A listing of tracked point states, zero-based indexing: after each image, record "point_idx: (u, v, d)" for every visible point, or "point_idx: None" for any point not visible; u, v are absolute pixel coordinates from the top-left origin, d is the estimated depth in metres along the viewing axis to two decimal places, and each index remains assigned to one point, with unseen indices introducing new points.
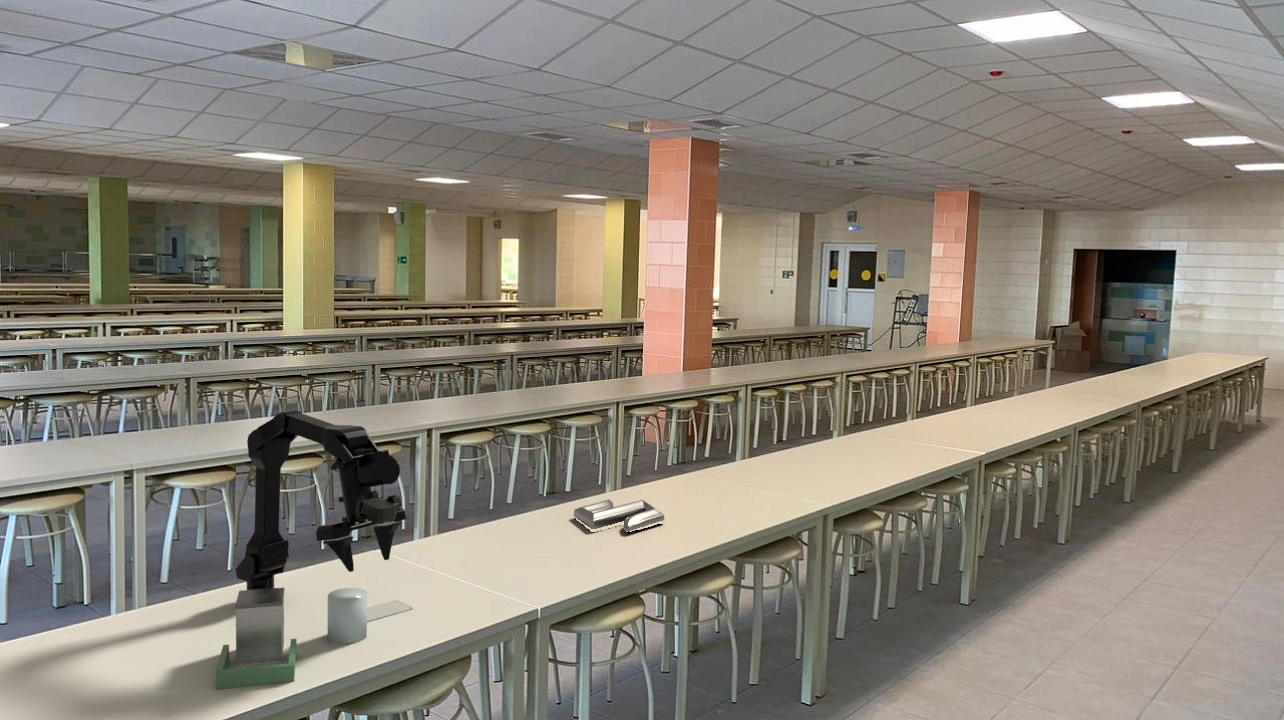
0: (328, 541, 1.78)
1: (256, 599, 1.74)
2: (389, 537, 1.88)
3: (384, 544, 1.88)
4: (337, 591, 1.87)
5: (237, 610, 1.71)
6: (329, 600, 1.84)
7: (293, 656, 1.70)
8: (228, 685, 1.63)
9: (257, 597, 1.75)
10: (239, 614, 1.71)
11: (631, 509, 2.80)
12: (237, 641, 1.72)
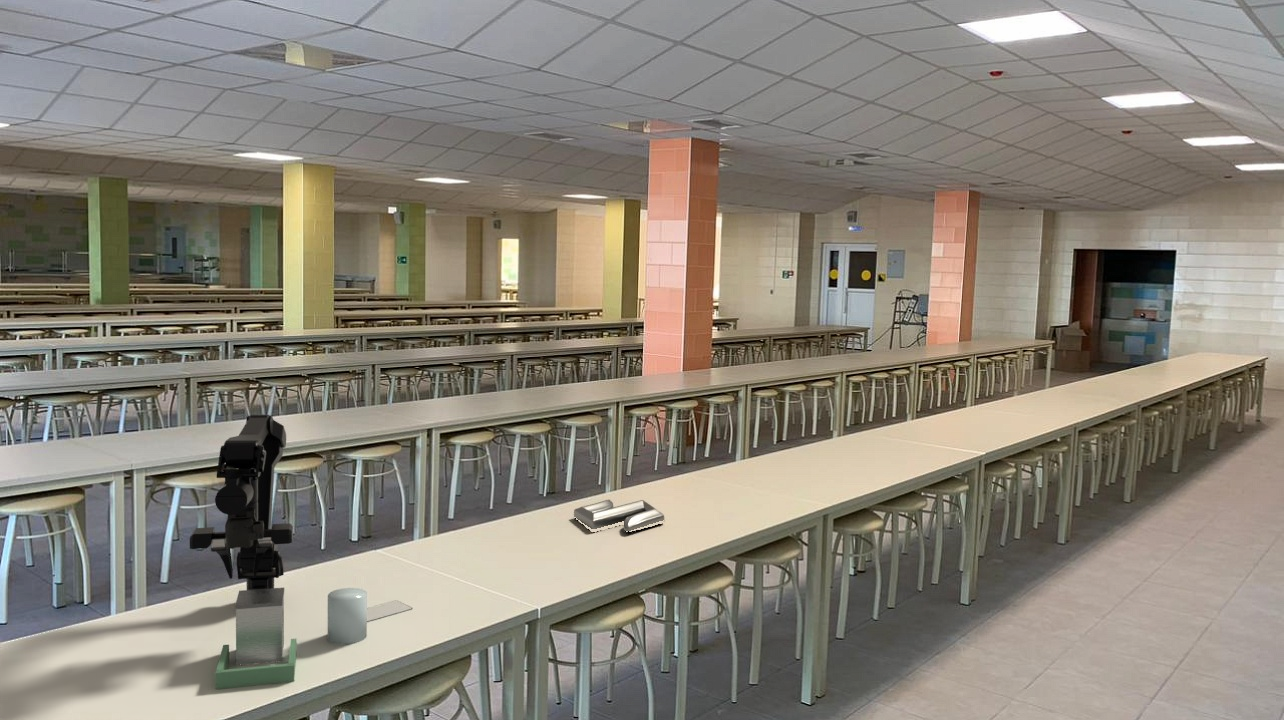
0: None
1: (256, 599, 1.74)
2: (257, 557, 1.84)
3: None
4: (337, 591, 1.87)
5: (237, 610, 1.71)
6: (329, 600, 1.84)
7: (293, 656, 1.70)
8: (228, 685, 1.63)
9: (257, 597, 1.75)
10: (239, 614, 1.71)
11: (631, 509, 2.80)
12: (237, 641, 1.72)
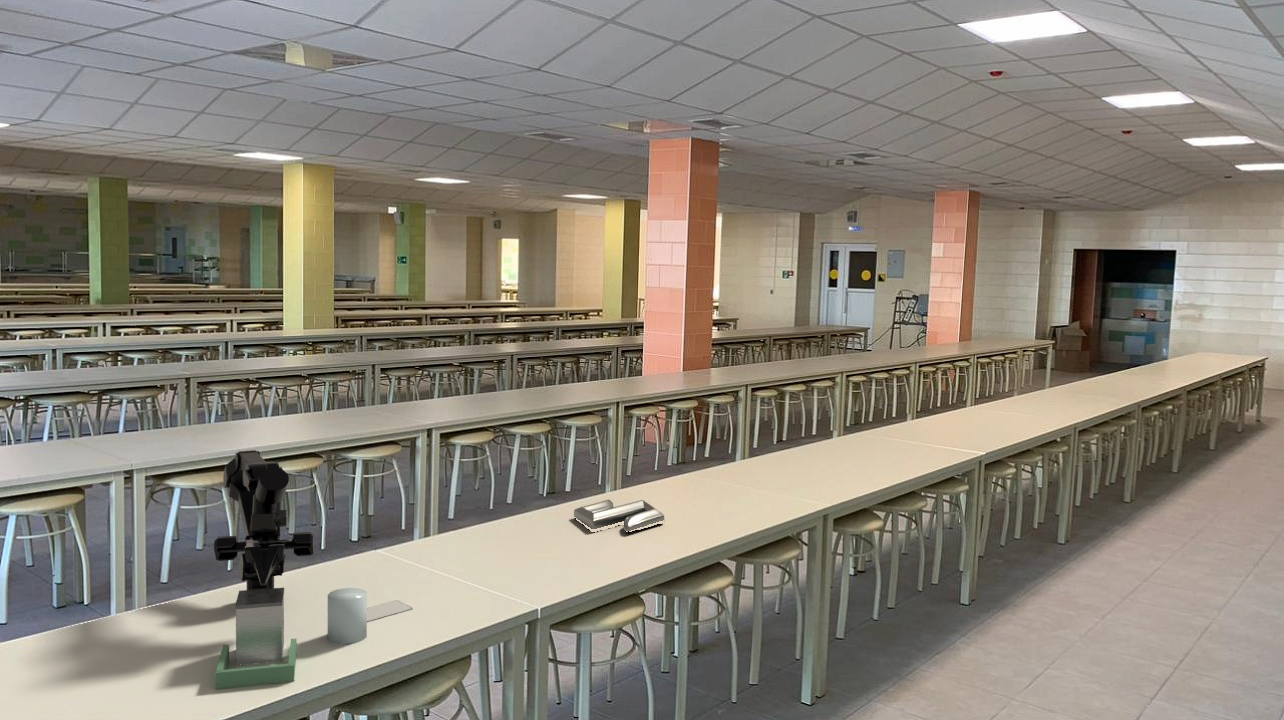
0: None
1: (256, 599, 1.74)
2: (267, 561, 1.85)
3: None
4: (337, 591, 1.87)
5: (237, 610, 1.71)
6: (329, 600, 1.84)
7: (293, 656, 1.70)
8: (228, 685, 1.63)
9: (257, 597, 1.75)
10: (239, 614, 1.71)
11: (631, 509, 2.80)
12: (237, 641, 1.72)
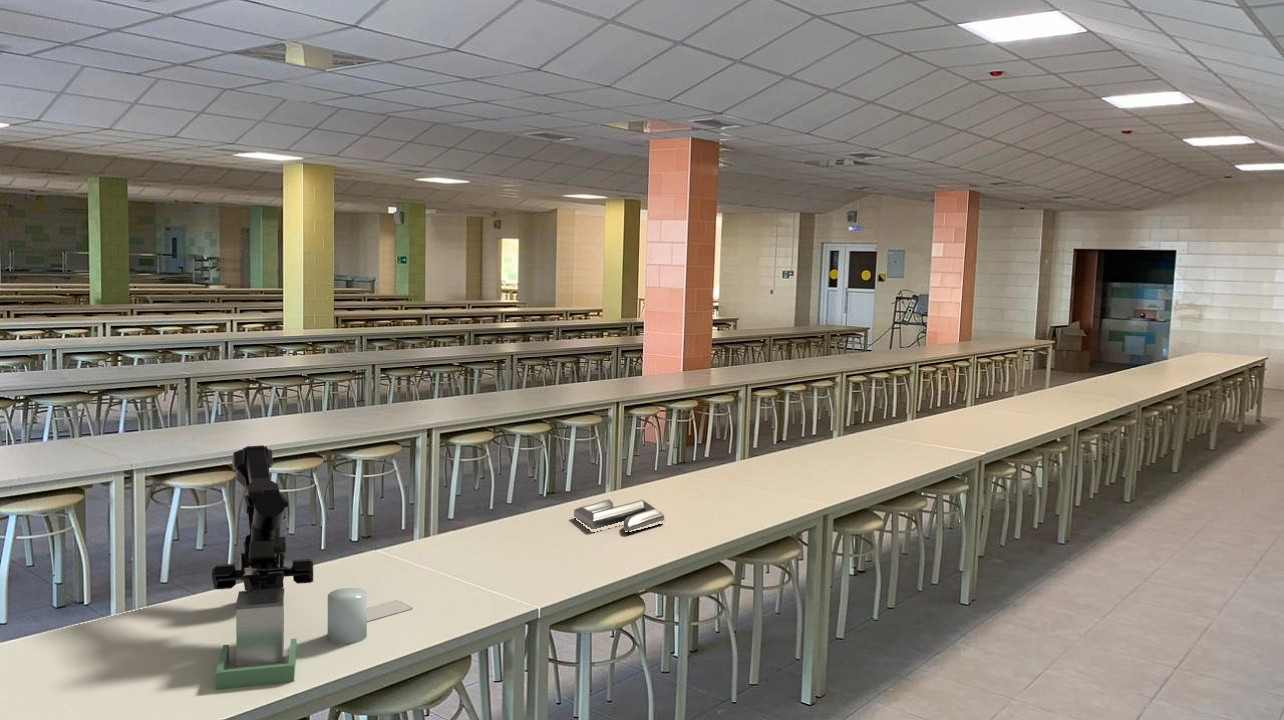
0: None
1: (256, 600, 1.74)
2: None
3: None
4: (337, 591, 1.87)
5: (237, 611, 1.71)
6: (329, 600, 1.84)
7: (293, 656, 1.70)
8: (228, 685, 1.63)
9: (257, 598, 1.75)
10: (239, 614, 1.71)
11: (631, 509, 2.80)
12: (237, 642, 1.71)
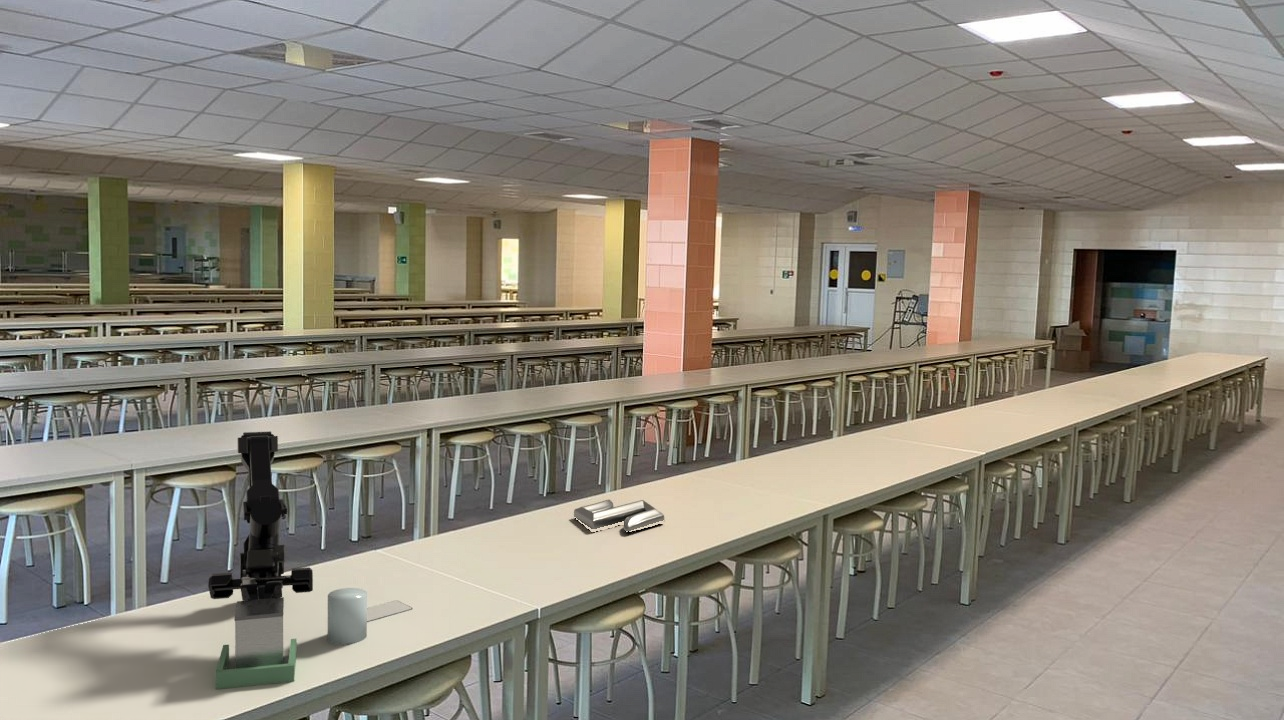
0: None
1: (256, 610, 1.69)
2: None
3: None
4: (337, 591, 1.87)
5: (236, 622, 1.65)
6: (329, 600, 1.84)
7: (293, 656, 1.70)
8: (228, 685, 1.63)
9: (256, 608, 1.70)
10: (239, 625, 1.66)
11: (631, 509, 2.80)
12: (236, 654, 1.66)
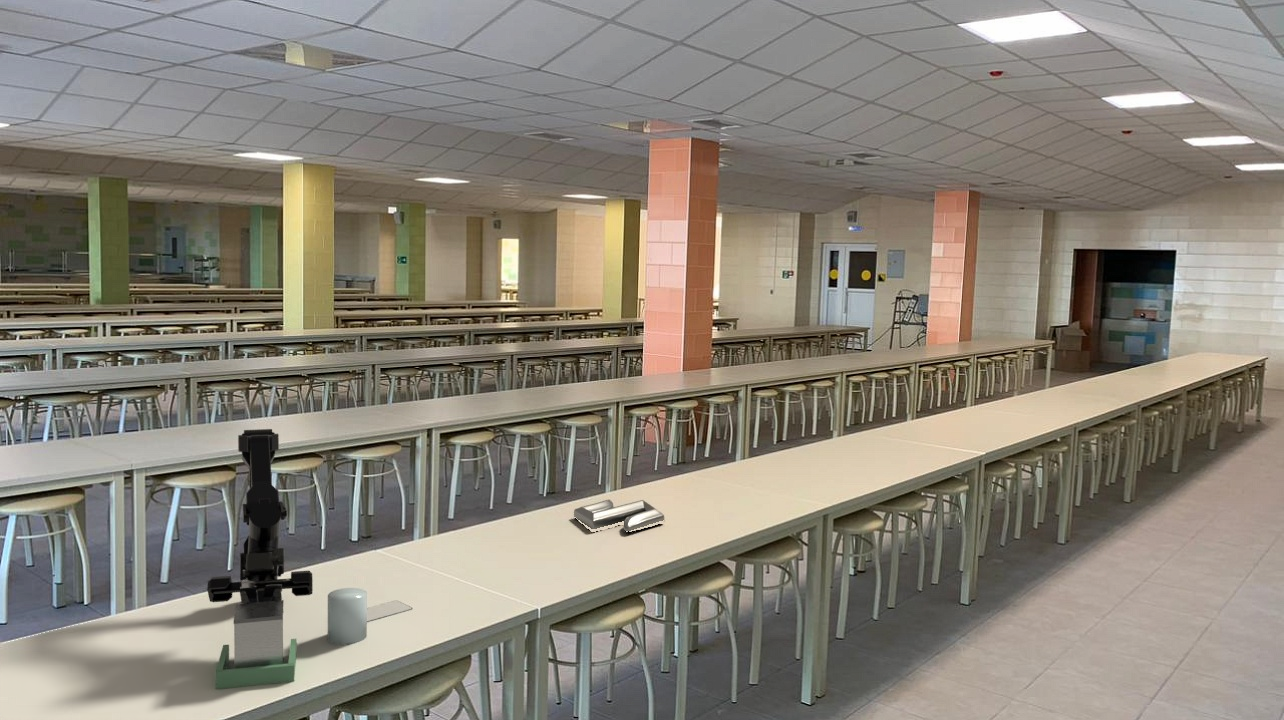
0: None
1: (255, 613, 1.67)
2: None
3: None
4: (337, 591, 1.87)
5: (235, 625, 1.64)
6: (329, 600, 1.84)
7: (293, 656, 1.70)
8: (228, 685, 1.63)
9: (255, 611, 1.68)
10: (238, 628, 1.64)
11: (631, 509, 2.80)
12: (235, 657, 1.65)
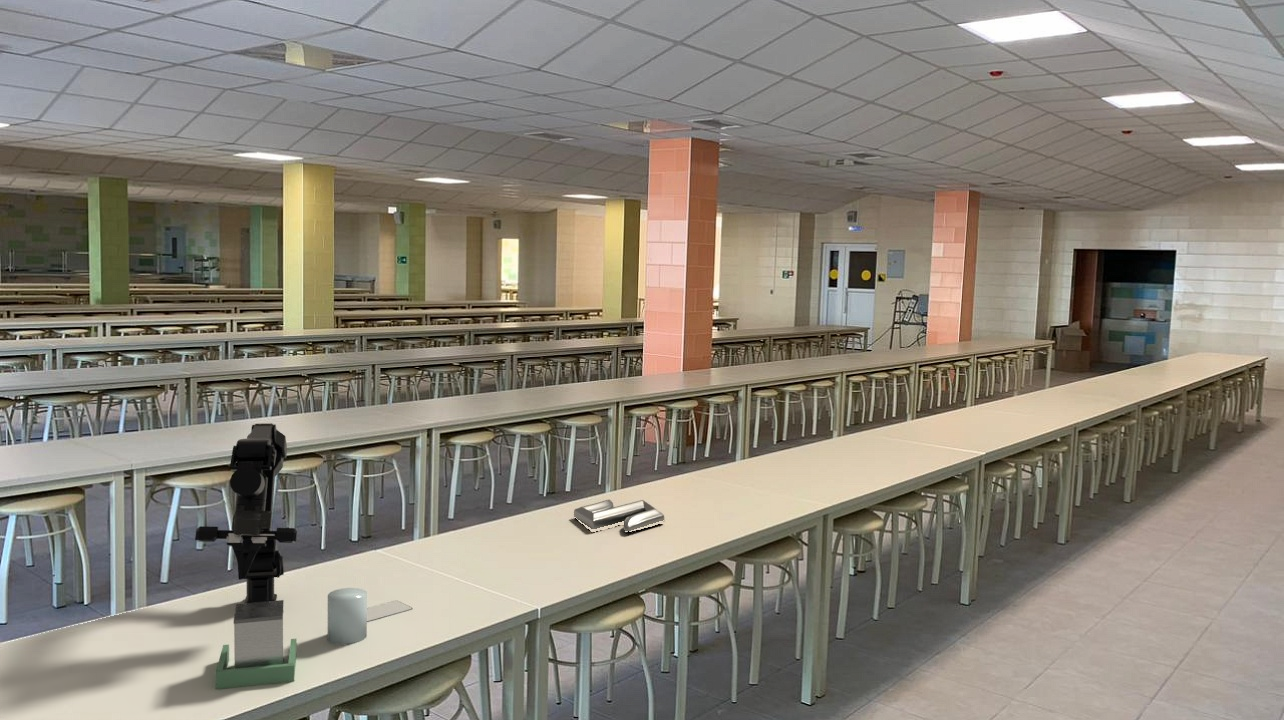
0: None
1: (255, 613, 1.67)
2: (249, 556, 1.84)
3: None
4: (337, 591, 1.87)
5: (235, 625, 1.64)
6: (329, 600, 1.84)
7: (293, 656, 1.70)
8: (228, 685, 1.63)
9: (255, 611, 1.68)
10: (238, 628, 1.64)
11: (631, 509, 2.80)
12: (235, 657, 1.65)
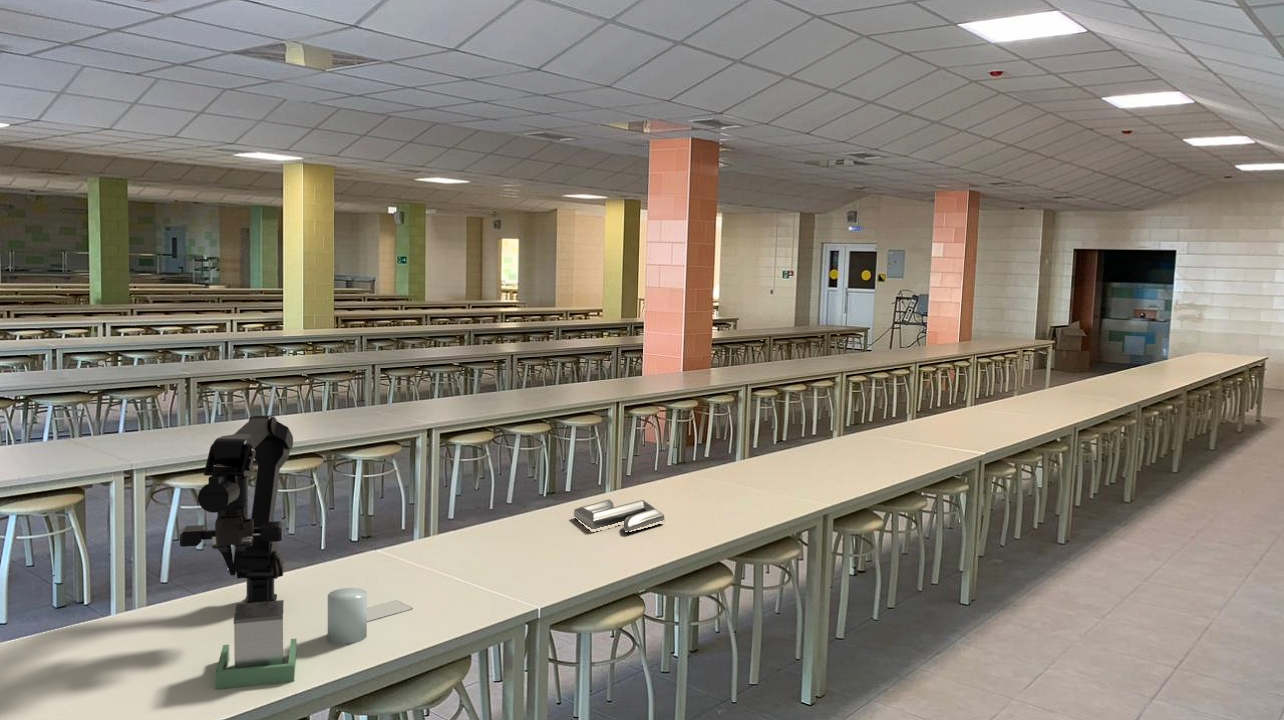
0: None
1: (255, 613, 1.67)
2: (236, 555, 1.85)
3: None
4: (337, 591, 1.87)
5: (235, 625, 1.64)
6: (329, 600, 1.84)
7: (293, 656, 1.70)
8: (228, 685, 1.63)
9: (255, 611, 1.68)
10: (238, 628, 1.64)
11: (632, 509, 2.80)
12: (235, 657, 1.65)
